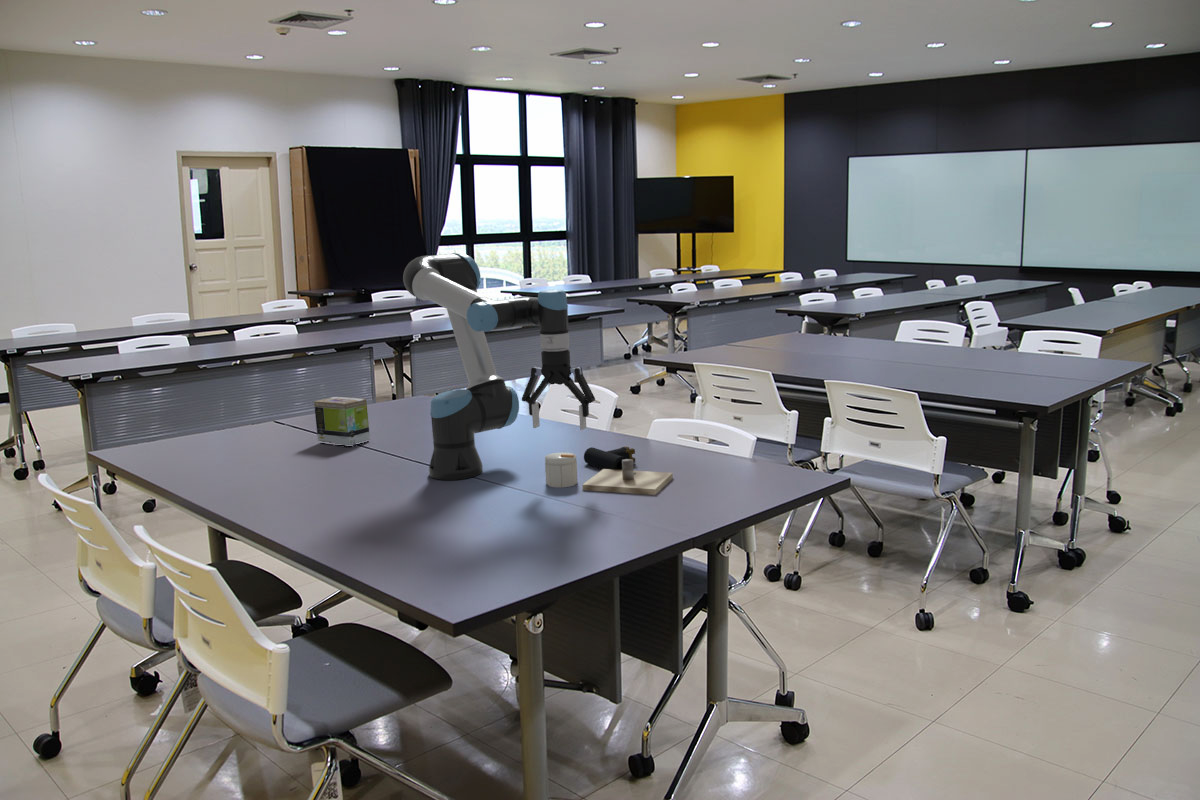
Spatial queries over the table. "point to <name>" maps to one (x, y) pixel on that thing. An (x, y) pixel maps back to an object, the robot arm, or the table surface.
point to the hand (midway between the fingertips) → (559, 428)
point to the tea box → (342, 420)
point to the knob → (561, 469)
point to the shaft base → (628, 480)
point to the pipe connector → (608, 457)
